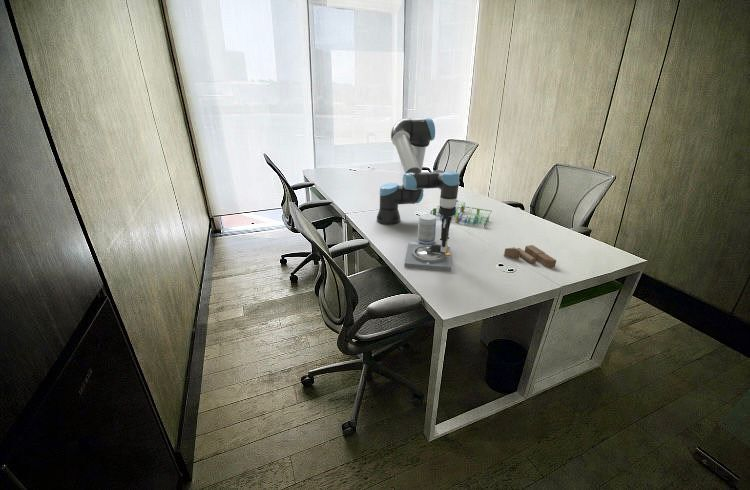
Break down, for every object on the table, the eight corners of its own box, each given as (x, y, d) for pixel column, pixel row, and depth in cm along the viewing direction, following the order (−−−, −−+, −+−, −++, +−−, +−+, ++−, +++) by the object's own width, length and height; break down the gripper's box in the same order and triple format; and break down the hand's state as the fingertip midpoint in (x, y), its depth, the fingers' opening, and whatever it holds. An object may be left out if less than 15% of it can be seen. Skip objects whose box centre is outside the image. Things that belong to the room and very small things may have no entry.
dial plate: (404, 266, 159) (404, 260, 158) (408, 246, 179) (408, 241, 177) (450, 271, 156) (451, 264, 154) (449, 250, 175) (450, 244, 174)
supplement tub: (437, 244, 182) (439, 219, 175) (420, 245, 180) (422, 220, 173) (430, 236, 190) (432, 212, 184) (414, 238, 188) (416, 214, 182)
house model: (429, 218, 217) (430, 211, 215) (443, 205, 241) (444, 199, 238) (483, 228, 202) (485, 221, 200) (493, 213, 226) (494, 207, 224)
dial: (415, 259, 162) (416, 248, 159) (416, 248, 172) (417, 238, 170) (447, 261, 160) (448, 251, 157) (446, 250, 170) (447, 240, 168)
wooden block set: (532, 242, 172) (558, 258, 157) (529, 251, 175) (555, 268, 159) (504, 246, 168) (528, 262, 153) (502, 255, 171) (525, 273, 155)
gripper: (454, 211, 146) (448, 258, 156) (458, 202, 157) (453, 247, 167) (437, 209, 148) (433, 256, 158) (442, 200, 159) (438, 245, 169)
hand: (443, 251), depth 162 cm, fingers closed
